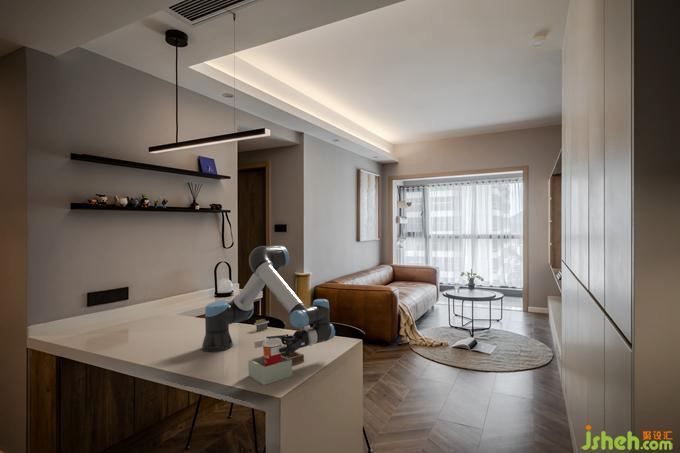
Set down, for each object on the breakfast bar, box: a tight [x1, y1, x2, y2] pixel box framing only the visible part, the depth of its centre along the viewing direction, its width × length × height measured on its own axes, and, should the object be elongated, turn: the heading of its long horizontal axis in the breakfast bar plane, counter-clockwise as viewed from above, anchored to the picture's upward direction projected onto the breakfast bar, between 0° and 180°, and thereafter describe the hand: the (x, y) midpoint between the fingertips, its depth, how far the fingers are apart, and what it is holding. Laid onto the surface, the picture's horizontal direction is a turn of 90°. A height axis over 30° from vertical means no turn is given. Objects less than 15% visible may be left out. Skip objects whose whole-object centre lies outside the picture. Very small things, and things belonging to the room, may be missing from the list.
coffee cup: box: [262, 338, 283, 367], centre depth 149 cm, size 8×8×15 cm
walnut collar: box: [281, 350, 305, 366], centre depth 167 cm, size 12×12×3 cm
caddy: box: [247, 355, 293, 386], centre depth 151 cm, size 13×13×6 cm
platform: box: [254, 318, 270, 332], centre depth 225 cm, size 12×18×7 cm, turn 137°
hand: (262, 348), depth 149 cm, fingers open, 13 cm apart
